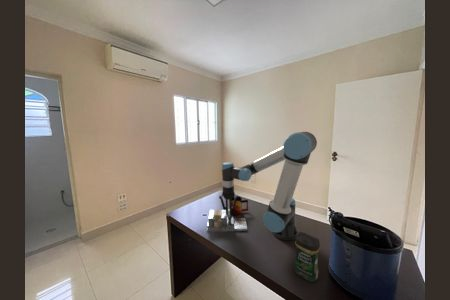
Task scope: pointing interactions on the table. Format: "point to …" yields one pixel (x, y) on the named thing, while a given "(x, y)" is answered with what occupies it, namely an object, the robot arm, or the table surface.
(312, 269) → the coffee jar
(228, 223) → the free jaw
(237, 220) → the vise bed
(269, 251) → the table surface
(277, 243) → the table surface
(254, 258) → the table surface
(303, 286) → the table surface
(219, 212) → the block
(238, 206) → the mug
